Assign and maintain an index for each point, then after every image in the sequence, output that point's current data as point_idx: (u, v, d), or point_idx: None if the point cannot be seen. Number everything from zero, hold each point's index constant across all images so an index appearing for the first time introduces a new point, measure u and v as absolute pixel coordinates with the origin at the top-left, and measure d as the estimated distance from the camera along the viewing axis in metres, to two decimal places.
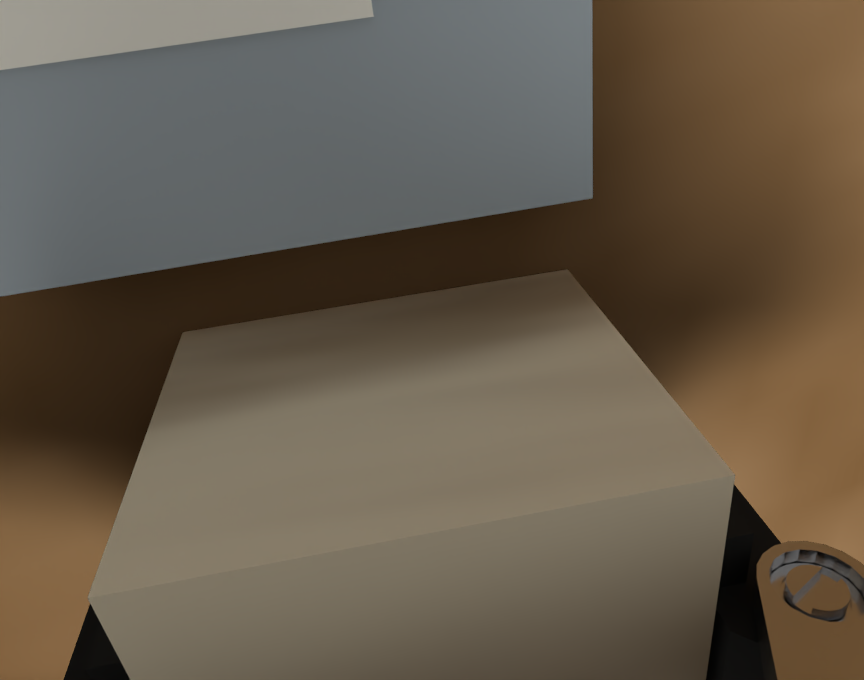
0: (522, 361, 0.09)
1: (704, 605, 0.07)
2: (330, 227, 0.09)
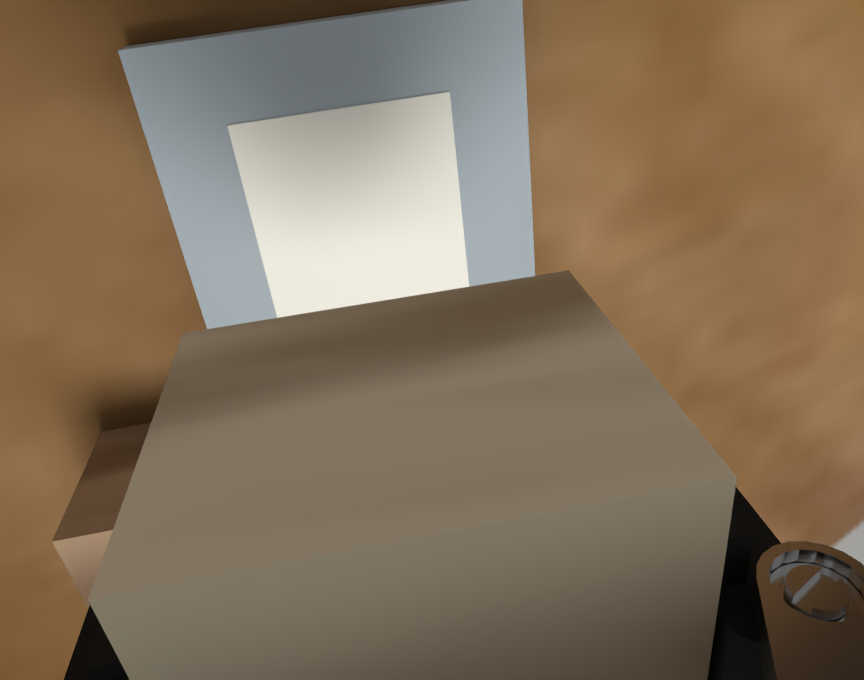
0: (524, 363, 0.09)
1: (705, 607, 0.07)
2: None
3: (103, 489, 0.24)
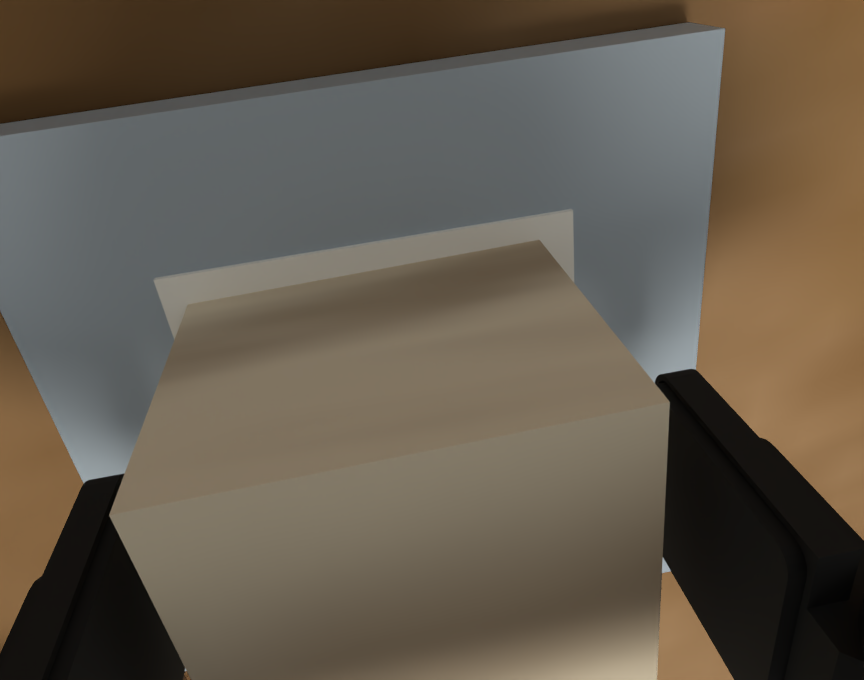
0: (492, 318, 0.10)
1: (653, 525, 0.08)
2: None
3: None
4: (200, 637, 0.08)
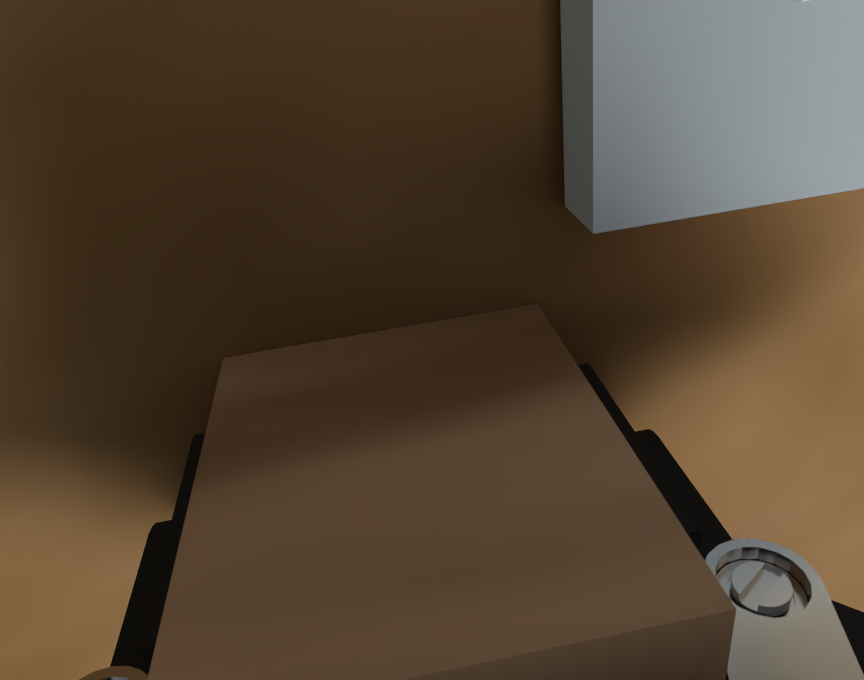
0: None
1: None
2: None
3: (278, 516, 0.07)
4: None
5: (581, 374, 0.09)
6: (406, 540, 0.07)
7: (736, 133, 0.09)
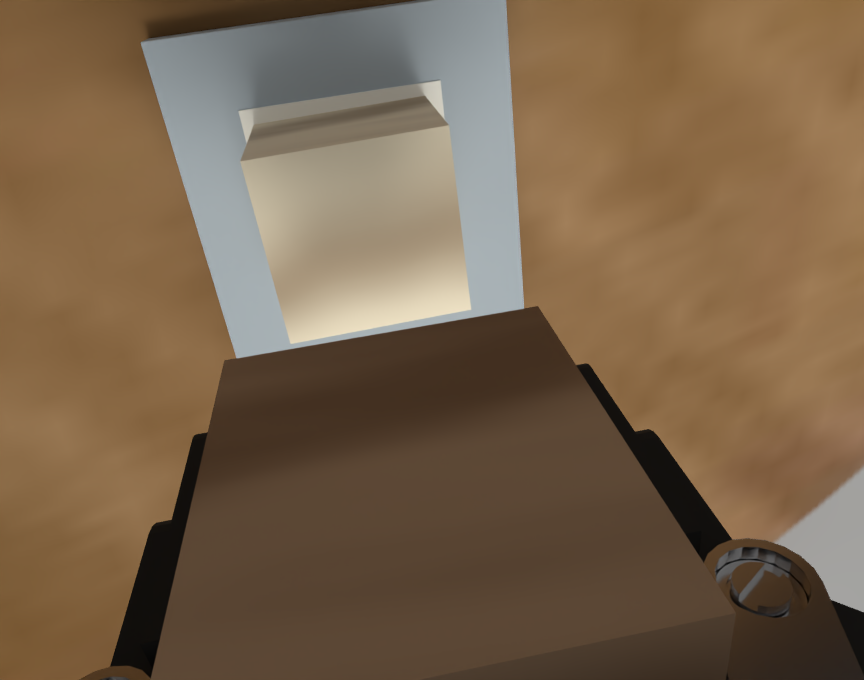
0: (392, 115, 0.22)
1: (451, 186, 0.21)
2: (443, 319, 0.28)
3: (280, 520, 0.07)
4: (269, 228, 0.20)
5: (582, 377, 0.09)
6: (407, 543, 0.07)
7: (277, 329, 0.28)
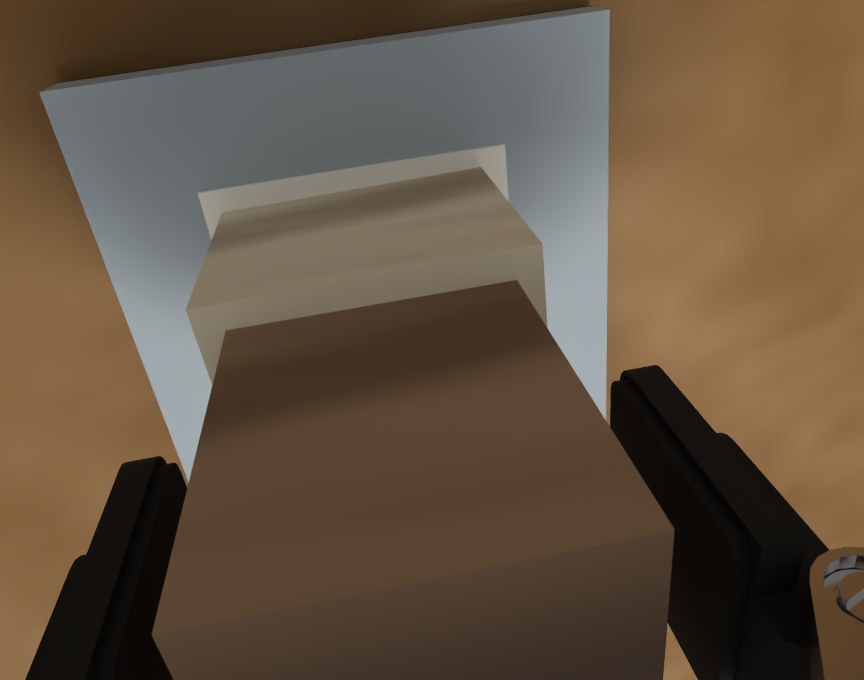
0: (439, 210, 0.14)
1: None
2: None
3: (276, 463, 0.08)
4: None
5: (553, 341, 0.10)
6: (389, 480, 0.08)
7: None
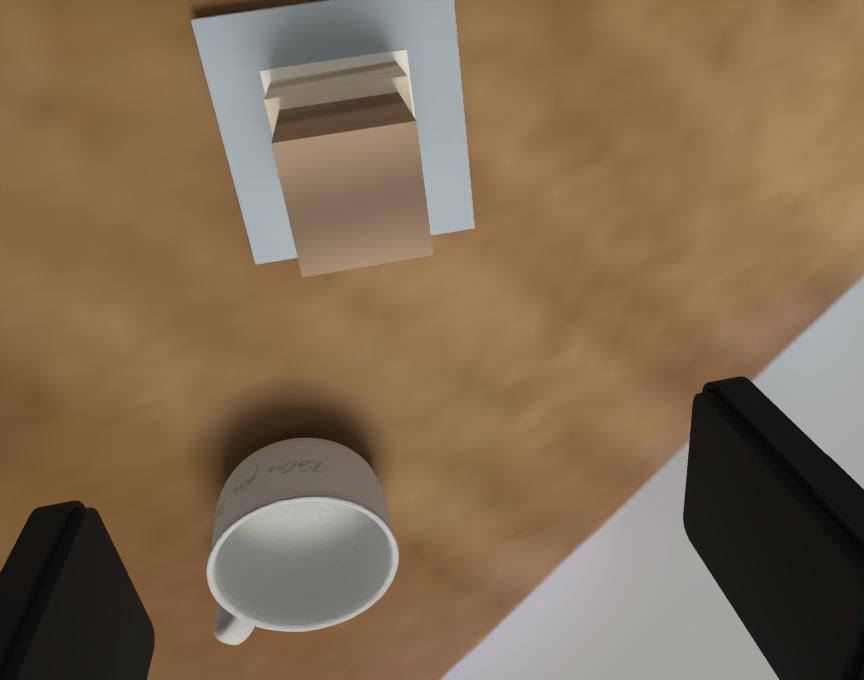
0: (370, 72, 0.31)
1: None
2: None
3: (302, 125, 0.25)
4: None
5: (403, 101, 0.27)
6: (338, 123, 0.25)
7: (286, 240, 0.36)
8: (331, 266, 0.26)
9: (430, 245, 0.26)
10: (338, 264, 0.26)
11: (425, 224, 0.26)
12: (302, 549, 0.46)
